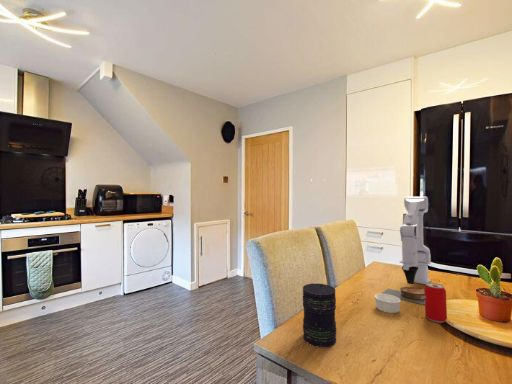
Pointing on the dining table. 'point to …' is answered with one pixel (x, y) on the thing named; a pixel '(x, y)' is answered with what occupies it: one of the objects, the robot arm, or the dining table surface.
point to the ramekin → (387, 303)
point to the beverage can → (435, 302)
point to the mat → (400, 296)
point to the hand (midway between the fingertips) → (410, 283)
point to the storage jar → (319, 315)
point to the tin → (413, 293)
